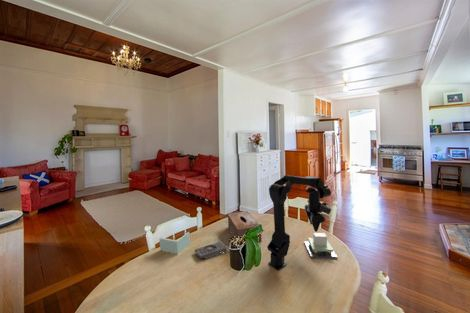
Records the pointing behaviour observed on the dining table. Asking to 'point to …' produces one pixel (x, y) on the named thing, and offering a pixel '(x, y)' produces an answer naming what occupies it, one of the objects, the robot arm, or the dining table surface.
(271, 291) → the dining table surface
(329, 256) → the chassis plate
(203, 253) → the graphics card
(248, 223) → the tissue box cover
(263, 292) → the dining table surface
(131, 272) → the dining table surface
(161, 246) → the right angle wall
